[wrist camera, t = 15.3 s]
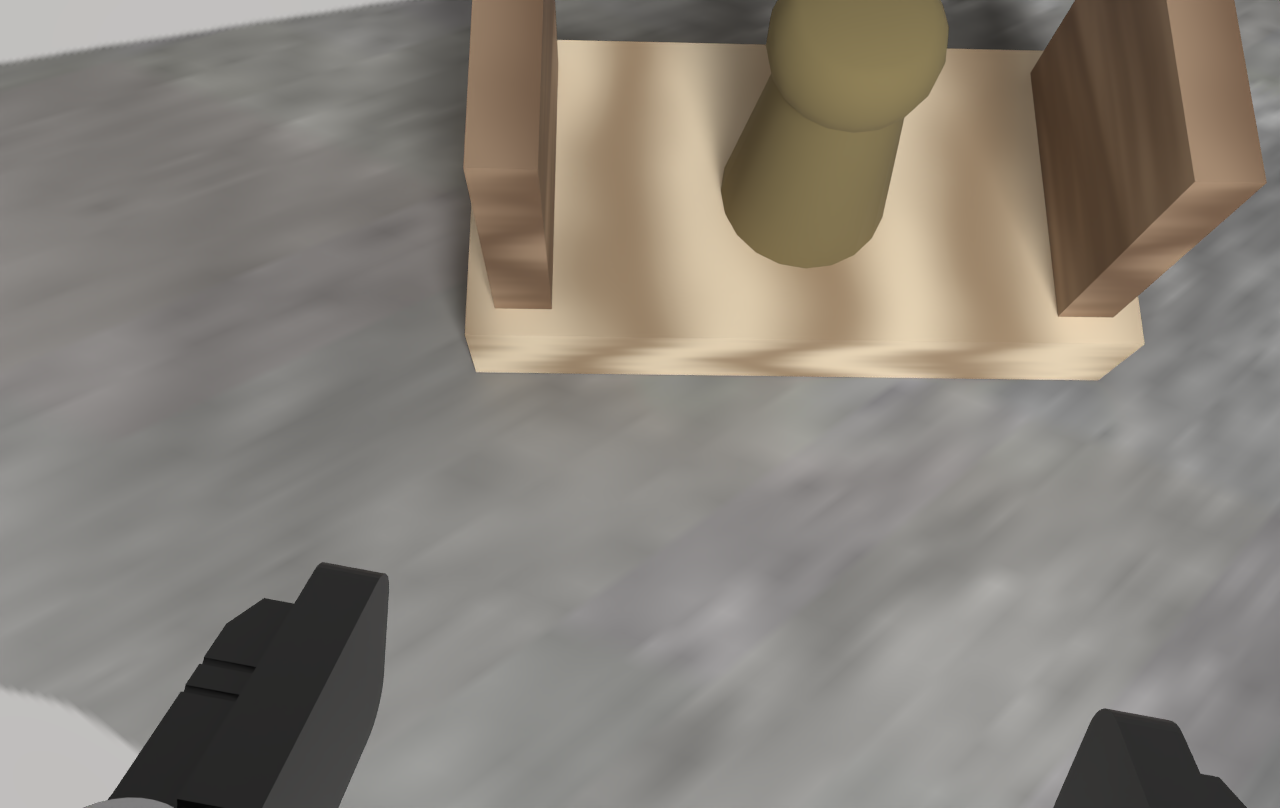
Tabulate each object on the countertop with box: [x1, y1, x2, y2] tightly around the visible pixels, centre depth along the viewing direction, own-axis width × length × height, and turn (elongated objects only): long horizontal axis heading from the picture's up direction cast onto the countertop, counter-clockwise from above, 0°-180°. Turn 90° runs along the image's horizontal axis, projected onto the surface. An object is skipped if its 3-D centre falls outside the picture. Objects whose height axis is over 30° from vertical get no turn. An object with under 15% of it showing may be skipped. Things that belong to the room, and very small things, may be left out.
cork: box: [721, 0, 949, 269], centre depth 37 cm, size 6×6×11 cm
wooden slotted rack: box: [463, 0, 1267, 380], centre depth 40 cm, size 24×12×14 cm, turn 90°
